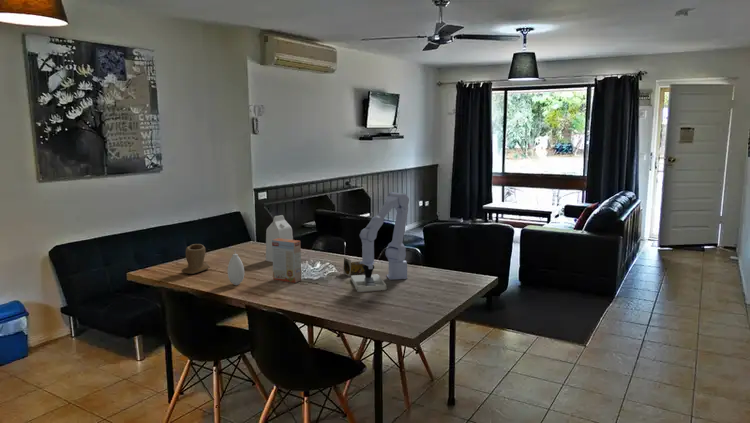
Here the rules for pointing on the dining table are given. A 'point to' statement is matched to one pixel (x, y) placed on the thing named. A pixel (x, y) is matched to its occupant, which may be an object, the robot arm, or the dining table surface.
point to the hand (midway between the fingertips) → (368, 279)
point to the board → (361, 279)
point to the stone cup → (195, 259)
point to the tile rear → (369, 280)
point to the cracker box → (286, 260)
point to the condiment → (352, 267)
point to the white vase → (235, 270)
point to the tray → (370, 287)
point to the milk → (277, 234)
